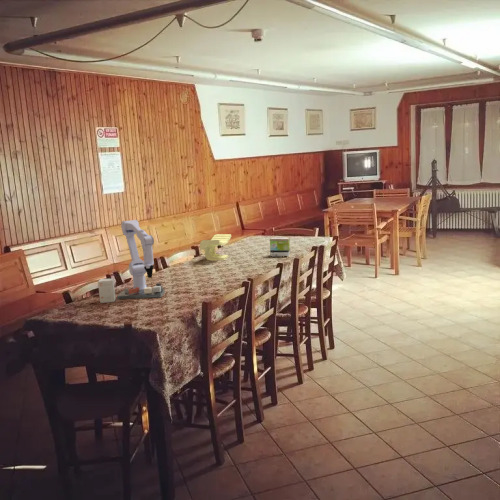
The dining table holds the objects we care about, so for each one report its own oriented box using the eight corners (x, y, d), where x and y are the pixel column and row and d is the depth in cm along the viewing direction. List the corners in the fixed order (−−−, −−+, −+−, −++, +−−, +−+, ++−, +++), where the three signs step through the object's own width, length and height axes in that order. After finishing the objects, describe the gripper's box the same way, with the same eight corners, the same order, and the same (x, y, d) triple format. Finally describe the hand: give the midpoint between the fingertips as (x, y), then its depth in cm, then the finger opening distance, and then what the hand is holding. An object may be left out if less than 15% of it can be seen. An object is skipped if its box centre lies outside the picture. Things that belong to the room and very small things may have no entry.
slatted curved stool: (214, 255, 447) (212, 234, 444) (232, 255, 442) (231, 234, 439) (201, 262, 419) (199, 240, 415) (220, 262, 414) (219, 240, 411)
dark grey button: (156, 287, 327) (156, 283, 327) (161, 287, 327) (161, 283, 327) (155, 288, 324) (155, 284, 324) (160, 288, 324) (160, 284, 324)
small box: (115, 299, 316) (113, 278, 314) (114, 302, 310) (112, 280, 308) (101, 300, 316) (99, 278, 314) (99, 303, 310) (97, 281, 307)
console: (123, 293, 330) (122, 287, 329) (164, 292, 329) (164, 285, 328) (117, 299, 316) (116, 292, 316) (160, 297, 316) (160, 291, 315)
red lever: (138, 291, 323) (137, 286, 323) (140, 292, 321) (139, 286, 321) (124, 294, 318) (123, 288, 317) (125, 294, 316) (125, 289, 315)
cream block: (145, 292, 321) (145, 287, 320) (152, 291, 320) (151, 287, 320) (144, 293, 318) (144, 288, 317) (151, 293, 318) (150, 288, 317)
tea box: (270, 257, 428) (269, 238, 426) (271, 254, 438) (271, 236, 436) (288, 256, 426) (288, 238, 423) (290, 254, 435) (289, 236, 433)
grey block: (154, 291, 323) (154, 286, 322) (161, 290, 323) (160, 285, 322) (153, 292, 320) (153, 287, 319) (160, 292, 320) (159, 287, 319)
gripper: (142, 254, 330) (144, 275, 332) (140, 258, 316) (142, 280, 318) (154, 253, 330) (156, 274, 333) (152, 257, 316) (154, 279, 319)
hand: (150, 277), depth 325 cm, fingers closed
